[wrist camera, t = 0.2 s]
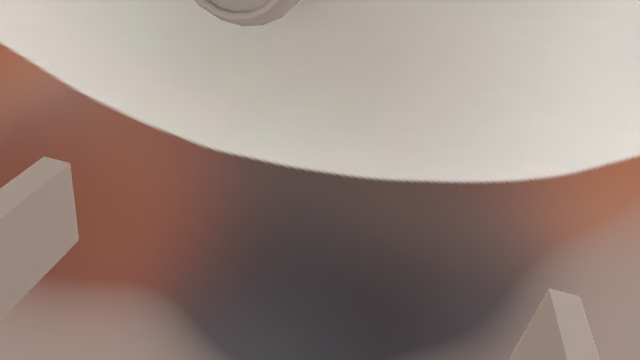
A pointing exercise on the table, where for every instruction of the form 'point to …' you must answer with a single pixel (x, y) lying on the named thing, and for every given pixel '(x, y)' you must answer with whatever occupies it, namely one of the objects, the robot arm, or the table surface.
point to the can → (247, 10)
